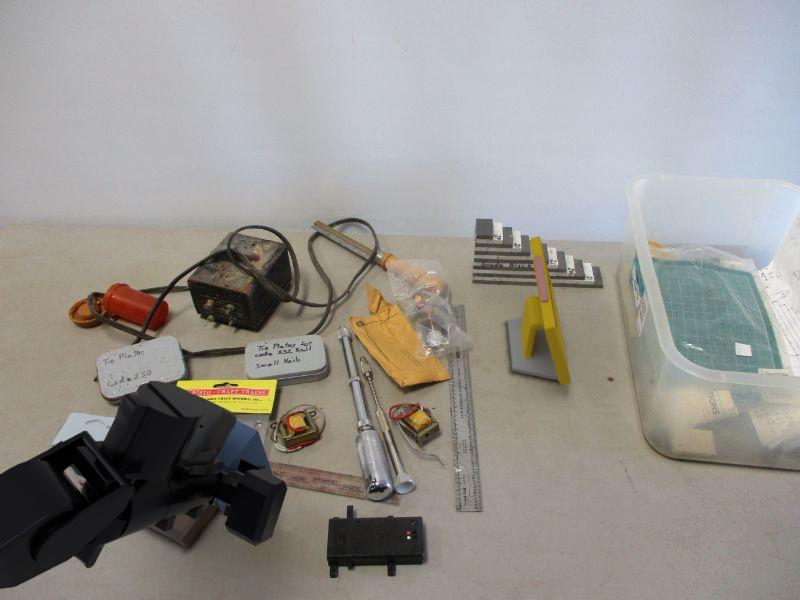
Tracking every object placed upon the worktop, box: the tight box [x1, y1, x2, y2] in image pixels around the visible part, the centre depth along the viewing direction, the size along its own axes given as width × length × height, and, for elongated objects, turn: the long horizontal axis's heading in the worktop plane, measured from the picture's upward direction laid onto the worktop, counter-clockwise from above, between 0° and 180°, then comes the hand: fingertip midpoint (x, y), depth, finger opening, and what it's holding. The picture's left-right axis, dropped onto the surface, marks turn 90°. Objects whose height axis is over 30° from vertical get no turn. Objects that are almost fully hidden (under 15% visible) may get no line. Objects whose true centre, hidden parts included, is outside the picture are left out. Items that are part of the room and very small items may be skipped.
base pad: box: [149, 502, 220, 548], centre depth 76 cm, size 8×8×3 cm
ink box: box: [49, 411, 115, 487], centre depth 77 cm, size 9×5×12 cm, turn 80°
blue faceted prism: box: [216, 419, 274, 513], centre depth 66 cm, size 5×5×13 cm
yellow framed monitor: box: [507, 236, 572, 386], centre depth 91 cm, size 20×8×16 cm, turn 176°
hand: (246, 462), depth 67 cm, fingers closed on blue faceted prism, 5 cm apart
